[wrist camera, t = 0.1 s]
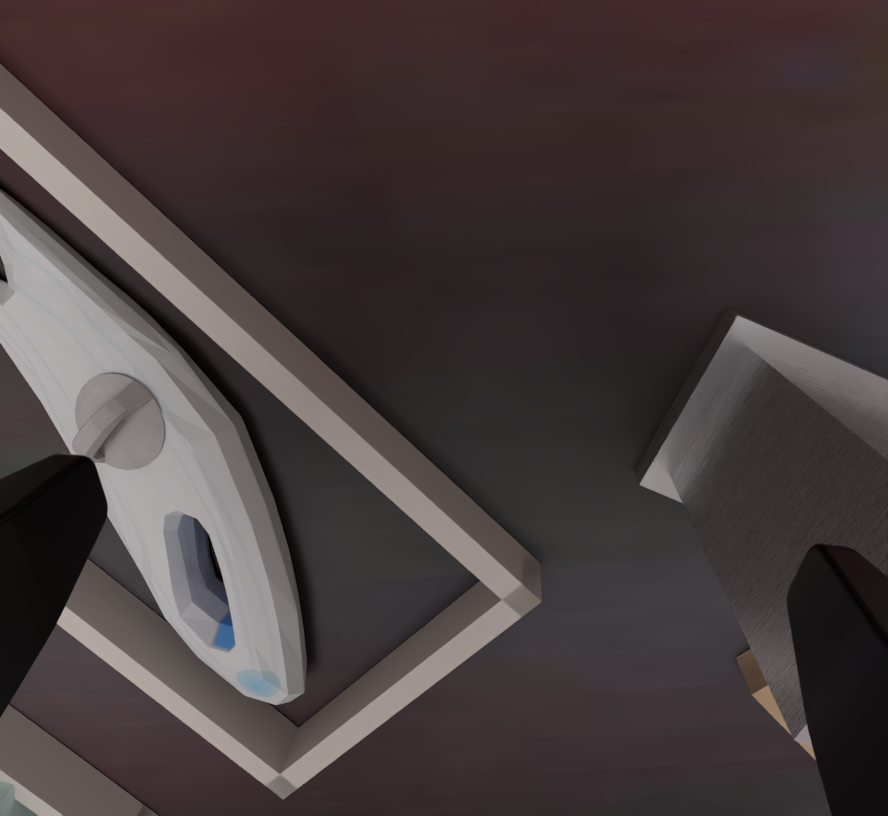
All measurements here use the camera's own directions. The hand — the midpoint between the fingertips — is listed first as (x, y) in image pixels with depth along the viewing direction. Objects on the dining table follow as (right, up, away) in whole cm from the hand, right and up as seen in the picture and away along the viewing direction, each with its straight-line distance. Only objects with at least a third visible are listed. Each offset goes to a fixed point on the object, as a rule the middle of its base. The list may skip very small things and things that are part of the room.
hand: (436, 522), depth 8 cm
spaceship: (-11, 0, +19) cm, 22 cm away
